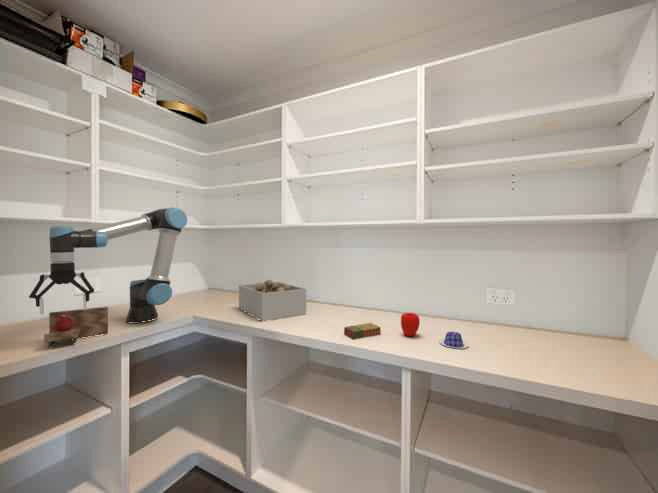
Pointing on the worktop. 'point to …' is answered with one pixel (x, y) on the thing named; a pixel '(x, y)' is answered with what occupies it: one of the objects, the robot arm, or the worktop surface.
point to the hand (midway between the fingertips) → (64, 311)
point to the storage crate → (272, 302)
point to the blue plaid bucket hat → (453, 340)
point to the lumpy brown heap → (269, 285)
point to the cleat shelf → (61, 336)
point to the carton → (362, 331)
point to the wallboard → (83, 321)
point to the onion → (63, 324)
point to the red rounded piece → (409, 323)
